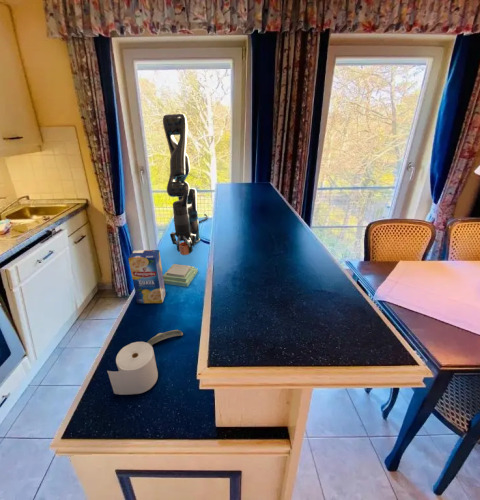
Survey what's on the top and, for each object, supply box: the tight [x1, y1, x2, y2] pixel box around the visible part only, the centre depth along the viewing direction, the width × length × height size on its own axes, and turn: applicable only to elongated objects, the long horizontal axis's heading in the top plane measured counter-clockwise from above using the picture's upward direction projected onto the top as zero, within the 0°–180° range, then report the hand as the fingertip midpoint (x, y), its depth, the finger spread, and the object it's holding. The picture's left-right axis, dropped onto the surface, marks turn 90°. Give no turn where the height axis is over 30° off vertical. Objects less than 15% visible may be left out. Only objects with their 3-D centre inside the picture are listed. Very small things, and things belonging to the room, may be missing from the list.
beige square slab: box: [165, 263, 191, 277], centre depth 136 cm, size 9×9×2 cm
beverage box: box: [127, 249, 167, 304], centre depth 118 cm, size 7×11×22 cm, turn 88°
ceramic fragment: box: [146, 329, 184, 346], centre depth 100 cm, size 14×5×4 cm, turn 113°
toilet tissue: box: [106, 341, 159, 396], centre depth 83 cm, size 11×12×10 cm
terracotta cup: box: [179, 241, 191, 256], centre depth 146 cm, size 6×6×5 cm
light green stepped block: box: [163, 263, 199, 288], centre depth 137 cm, size 14×14×4 cm
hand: (185, 251), depth 147 cm, fingers closed on terracotta cup, 5 cm apart
